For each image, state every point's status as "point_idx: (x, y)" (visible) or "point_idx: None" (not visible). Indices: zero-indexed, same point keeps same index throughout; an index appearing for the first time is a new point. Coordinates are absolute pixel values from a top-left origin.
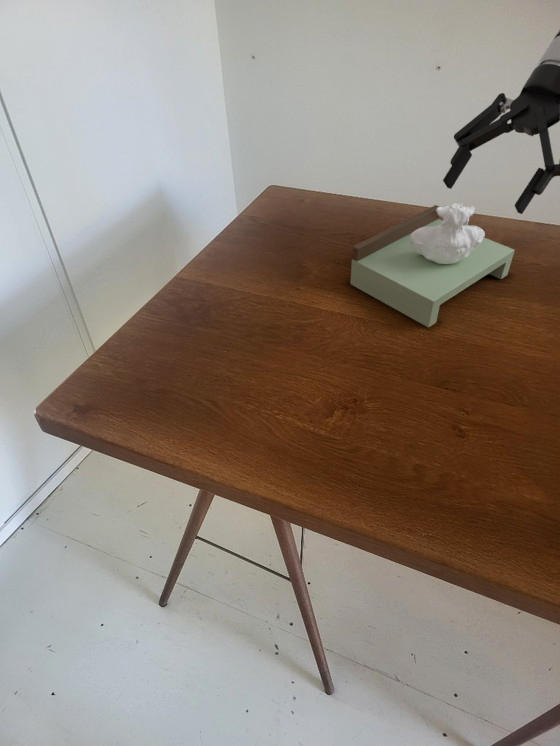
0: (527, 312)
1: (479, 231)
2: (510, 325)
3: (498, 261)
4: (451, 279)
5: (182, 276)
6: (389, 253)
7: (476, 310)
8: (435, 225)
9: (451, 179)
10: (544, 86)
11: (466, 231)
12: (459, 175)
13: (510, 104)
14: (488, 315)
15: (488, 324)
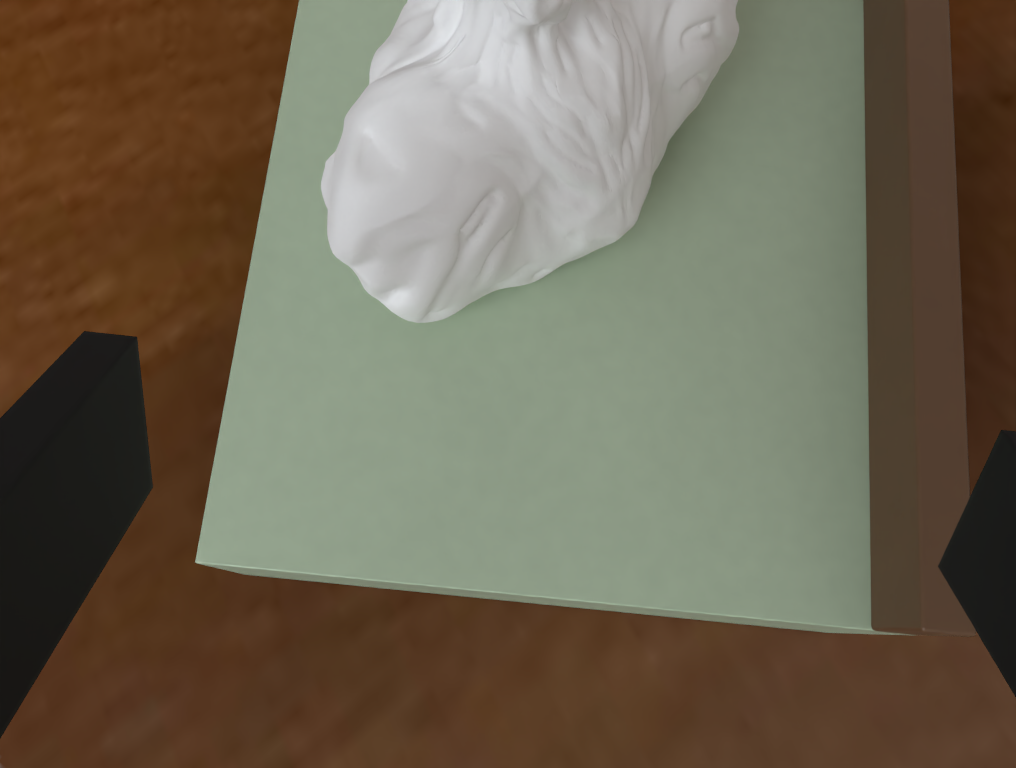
0: (11, 301)
1: (348, 154)
2: (48, 155)
3: (233, 363)
4: (364, 9)
5: None
6: (794, 35)
7: (237, 164)
8: (821, 519)
9: (1003, 528)
10: None
11: (416, 62)
12: (1013, 690)
13: None
14: (170, 162)
15: (140, 102)
